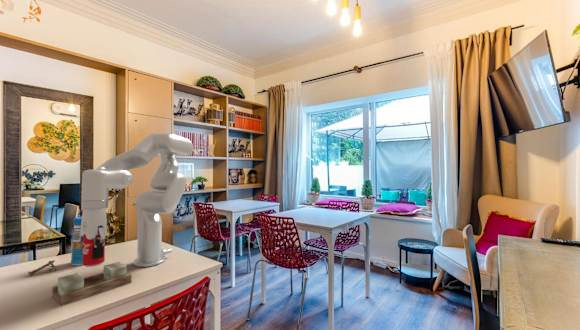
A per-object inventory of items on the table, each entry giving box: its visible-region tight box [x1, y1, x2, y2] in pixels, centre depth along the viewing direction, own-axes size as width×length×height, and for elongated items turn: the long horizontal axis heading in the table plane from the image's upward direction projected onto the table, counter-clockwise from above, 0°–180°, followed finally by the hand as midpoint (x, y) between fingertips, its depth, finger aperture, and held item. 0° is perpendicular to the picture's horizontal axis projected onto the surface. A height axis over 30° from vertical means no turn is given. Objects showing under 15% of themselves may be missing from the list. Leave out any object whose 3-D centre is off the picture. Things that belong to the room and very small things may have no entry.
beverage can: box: [81, 234, 106, 268], centre depth 91 cm, size 6×6×12 cm
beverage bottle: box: [70, 215, 83, 267], centre depth 115 cm, size 8×8×20 cm
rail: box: [52, 261, 132, 306], centre depth 92 cm, size 20×10×6 cm, turn 145°
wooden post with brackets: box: [27, 260, 58, 277], centre depth 104 cm, size 2×8×4 cm, turn 134°
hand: (94, 255), depth 91 cm, fingers closed on beverage can, 6 cm apart
